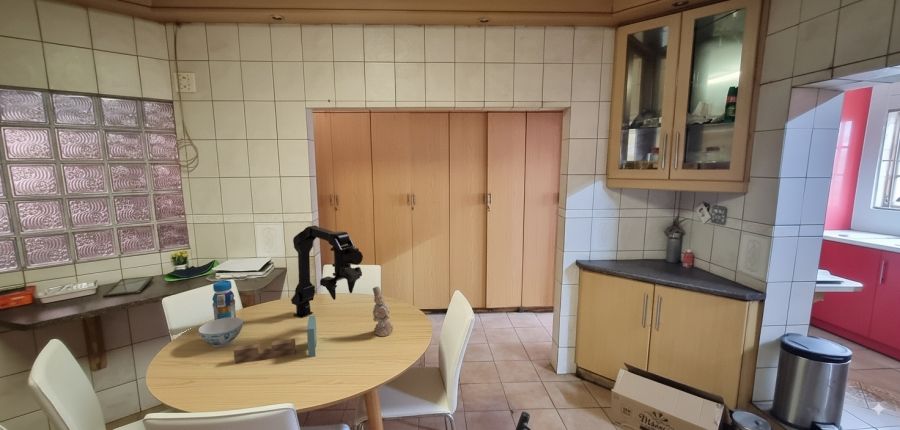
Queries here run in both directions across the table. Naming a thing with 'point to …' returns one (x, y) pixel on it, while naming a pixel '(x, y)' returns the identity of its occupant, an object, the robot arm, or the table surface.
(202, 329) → the chinaware
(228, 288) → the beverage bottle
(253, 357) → the walnut slotted rail
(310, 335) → the teal slotted plate
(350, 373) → the table surface
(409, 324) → the table surface
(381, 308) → the figurine
